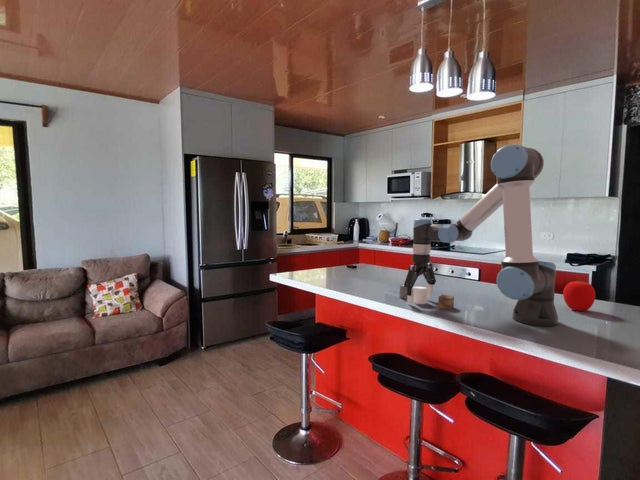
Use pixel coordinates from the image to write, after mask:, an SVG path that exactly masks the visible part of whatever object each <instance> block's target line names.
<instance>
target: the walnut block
mask: <svg viewBox="0 0 640 480" xmlns="http://www.w3.org/2000/svg"><path fill="white" fill-rule="evenodd" d="M437 303H438V304H437V308H438V309H442V310H448V311H451V310H452V309H454V307H455V296H454V295H449V294H448V295H447V294H441V295H439V296H438V301H437Z"/></svg>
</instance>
